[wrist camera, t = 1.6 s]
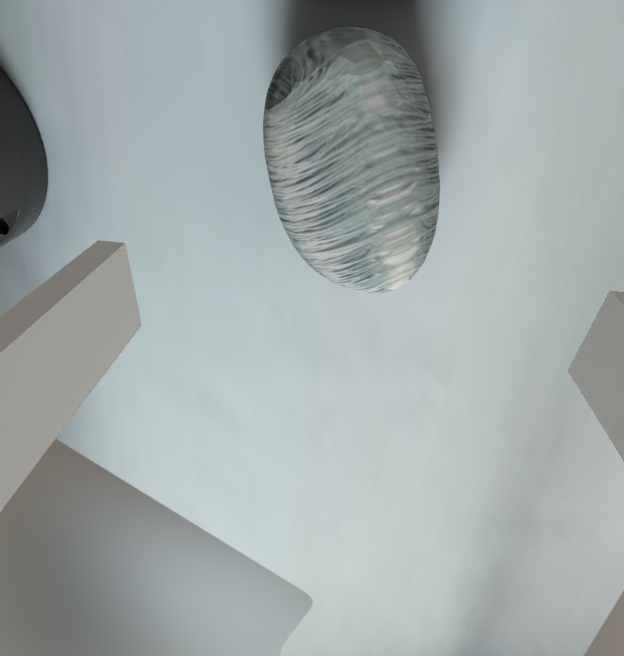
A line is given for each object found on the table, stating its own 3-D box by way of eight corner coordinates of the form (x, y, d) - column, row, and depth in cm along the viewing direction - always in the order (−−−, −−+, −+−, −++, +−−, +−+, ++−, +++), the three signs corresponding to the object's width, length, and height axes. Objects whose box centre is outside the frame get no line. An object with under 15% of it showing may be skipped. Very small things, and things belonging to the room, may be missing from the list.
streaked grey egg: (208, 40, 21) (281, 95, 15) (375, -12, 23) (509, 16, 16) (271, 256, 31) (332, 346, 25) (384, 209, 33) (470, 282, 26)
